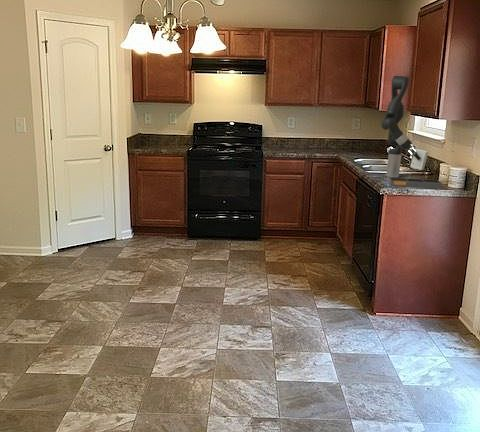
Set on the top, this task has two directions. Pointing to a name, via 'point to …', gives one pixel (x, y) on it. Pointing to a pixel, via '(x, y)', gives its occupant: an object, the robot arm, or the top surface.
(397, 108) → the robot arm
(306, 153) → the top surface
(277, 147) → the top surface
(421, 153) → the small box
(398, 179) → the rack
